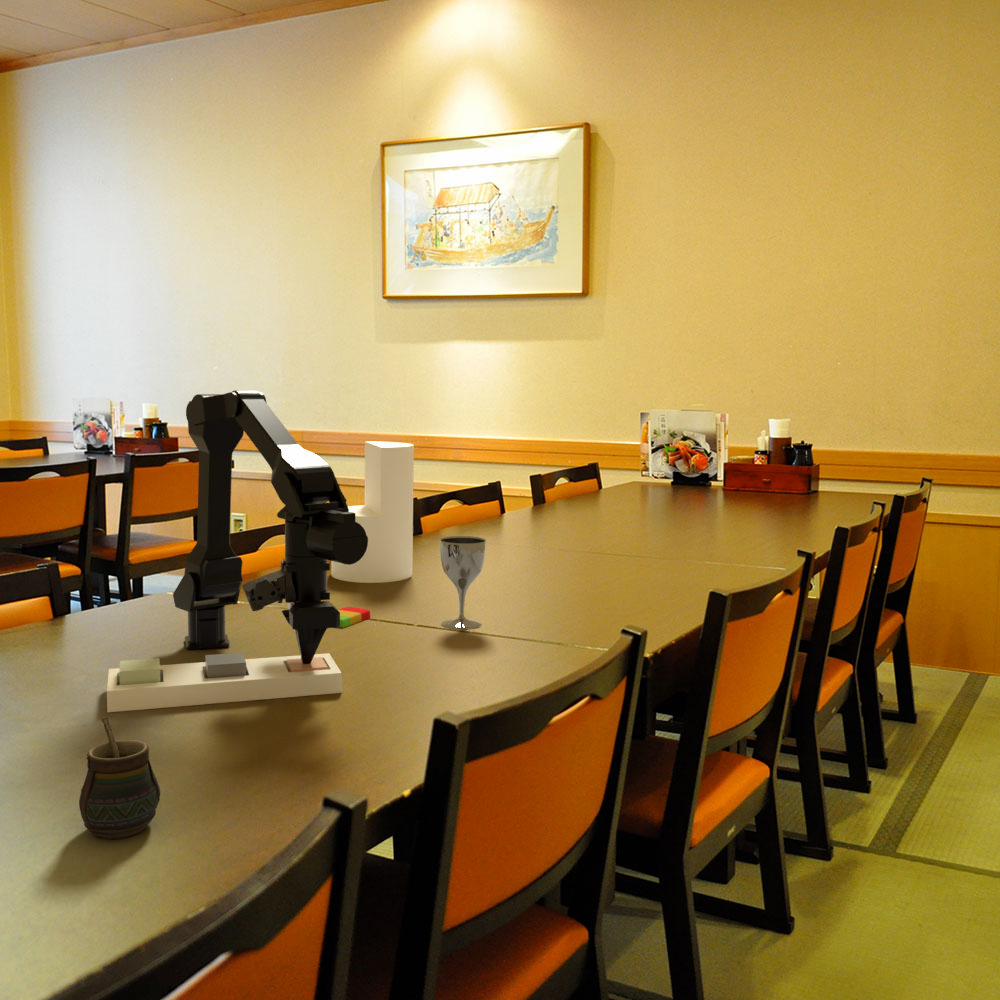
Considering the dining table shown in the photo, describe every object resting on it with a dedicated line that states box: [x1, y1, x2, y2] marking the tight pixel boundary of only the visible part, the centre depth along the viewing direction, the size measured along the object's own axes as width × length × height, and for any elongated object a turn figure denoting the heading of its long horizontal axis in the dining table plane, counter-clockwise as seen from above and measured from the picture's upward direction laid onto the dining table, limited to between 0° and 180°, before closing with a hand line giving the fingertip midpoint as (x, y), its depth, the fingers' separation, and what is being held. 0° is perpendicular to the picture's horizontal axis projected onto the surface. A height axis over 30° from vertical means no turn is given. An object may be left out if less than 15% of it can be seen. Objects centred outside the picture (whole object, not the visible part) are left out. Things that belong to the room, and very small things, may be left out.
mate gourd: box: [78, 717, 161, 840], centre depth 98 cm, size 7×8×10 cm
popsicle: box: [337, 606, 371, 629], centre depth 178 cm, size 6×15×2 cm, turn 154°
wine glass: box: [439, 535, 487, 631], centre depth 178 cm, size 8×8×15 cm
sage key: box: [119, 657, 161, 685], centre depth 136 cm, size 5×5×2 cm
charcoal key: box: [204, 652, 246, 679], centre depth 140 cm, size 5×5×2 cm
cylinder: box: [330, 440, 415, 584], centre depth 219 cm, size 17×17×28 cm
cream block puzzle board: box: [106, 652, 343, 713], centre depth 140 cm, size 10×30×3 cm, turn 109°
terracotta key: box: [286, 657, 328, 672], centre depth 144 cm, size 5×5×2 cm
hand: (306, 663), depth 143 cm, fingers closed, pressing on terracotta key
